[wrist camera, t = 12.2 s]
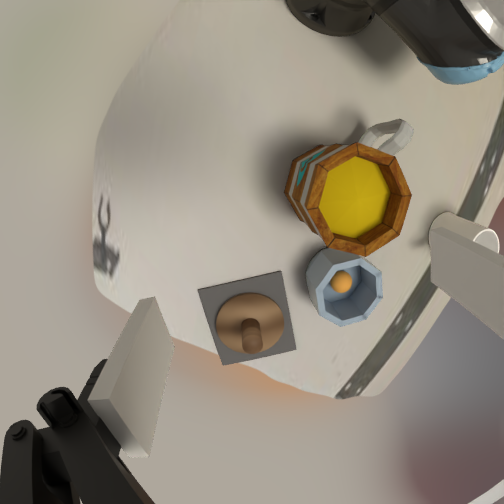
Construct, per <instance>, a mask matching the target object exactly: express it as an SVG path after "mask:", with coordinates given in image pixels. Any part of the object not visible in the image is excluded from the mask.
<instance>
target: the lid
mask: <svg viewBox="0 0 504 504" xmlns="http://www.w3.org/2000/svg"><path fill="white" fill-rule="evenodd" d="M216 329H217V333H218V336H219V338H220V340H221V341H222V342H223V343H224V344H225V345H226V346H227V347H228V348H230V349H232V350H234V351H236V352H240V353H245V354H256V353H259V352H262V351H265V350H267V349H269V348H270V347H272V346H273V345H274V344H275V343H276V342H277V341H278V340H279V339H280V337H281V335H282V333H283V330H284V317H283V314H282V311H281V309H280V307H279V306H278V304H277V303H276V302H275V301H274V300H273V299H271V298H270V297H268V296H266V295H263V294H260V293H253V292H249V293H242V294H238V295H236V296H234V297H232V298H230V299H229V300H227V301H226V302H225V303H224V304H223V305H222V307H221V308H220V310H219V312H218V315H217V321H216Z"/></svg>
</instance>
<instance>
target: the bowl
mask: <svg viewBox="0 0 504 504" xmlns="http://www.w3.org/2000/svg"><path fill="white" fill-rule="evenodd" d="M337 271H345V272H347V273H349V274H350V276H351V278H352V285H351V288H350V289H349V290H348V291H347V292H344V293H338V292H336V291H334V290H333V289H332V287H331V284H330V280H331V278H332V277H333V276H334V274H335V273H336V272H337ZM306 283H307V287H308V290H309V296H310V299H311V300H312V302H313V304H314V306H315V308H316V310H317V312H318V314H319V315H320V316H322V317H323V318H325V319H327V320H329V321H331V322H333V323H334V324H336V325H338V326H340V327H342V326H345V325H349V324H352V323H356V322H359V321H363V320H366V319H367V318H368V316H369V315H370V314H371V312H372V311H373V310H374V309H375V307H376V306H377V305H378V303H379V302H380V301H381V299H382V298H383V292H382V274H381V271H380V270H378V269H377V268H376V267H375V266H374V265H373V264H371V263H370V262H369V261H368V260H367V259H365V258H364V257H363V256H360V255H356V254H352V253H348V252H344V251H340V250H336V249H331V248H324V249H322V250H321V251H319V252H318V253H317V254H316V255H315V256H314V257H313V258H312V260H311V261H310V263H309V265H308V267H307V271H306Z"/></svg>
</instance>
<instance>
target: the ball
mask: <svg viewBox="0 0 504 504" xmlns="http://www.w3.org/2000/svg"><path fill="white" fill-rule="evenodd" d="M330 284H331V287H332V289H333V290H334V291H336V292H338V293H344V292H347V291H348V290H349V289H350V288H351V285H352V278H351V276H350V274H349V273H347V272H345V271H337V272H336V273H335V274H334V276H333V277H332V278H331V280H330Z"/></svg>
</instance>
